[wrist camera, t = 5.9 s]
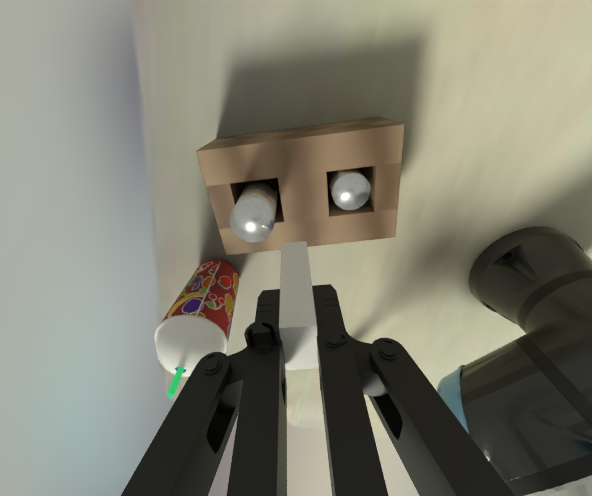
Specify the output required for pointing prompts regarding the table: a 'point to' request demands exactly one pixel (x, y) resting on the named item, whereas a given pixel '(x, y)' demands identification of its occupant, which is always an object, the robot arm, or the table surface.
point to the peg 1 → (255, 211)
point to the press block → (308, 181)
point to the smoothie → (198, 320)
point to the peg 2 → (348, 188)
